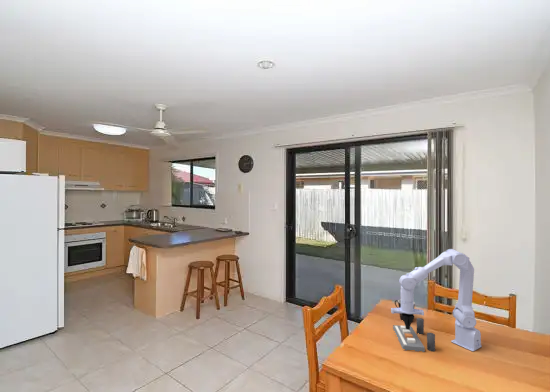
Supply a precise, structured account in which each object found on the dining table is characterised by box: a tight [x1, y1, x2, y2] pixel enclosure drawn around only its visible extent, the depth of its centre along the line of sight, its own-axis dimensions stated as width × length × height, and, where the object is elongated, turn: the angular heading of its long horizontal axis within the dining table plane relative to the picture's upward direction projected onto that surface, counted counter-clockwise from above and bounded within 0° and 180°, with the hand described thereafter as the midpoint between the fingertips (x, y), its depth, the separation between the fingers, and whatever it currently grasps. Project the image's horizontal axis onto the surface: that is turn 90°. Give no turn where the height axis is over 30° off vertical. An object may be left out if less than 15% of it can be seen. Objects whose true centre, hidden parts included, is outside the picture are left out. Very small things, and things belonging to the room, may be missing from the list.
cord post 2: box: [426, 332, 436, 353], centre depth 126 cm, size 3×3×7 cm
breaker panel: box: [392, 324, 426, 353], centre depth 135 cm, size 20×9×3 cm, turn 169°
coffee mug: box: [394, 298, 416, 322], centre depth 157 cm, size 12×9×10 cm
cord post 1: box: [416, 317, 425, 335], centre depth 140 cm, size 3×3×7 cm
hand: (407, 328), depth 135 cm, fingers closed
